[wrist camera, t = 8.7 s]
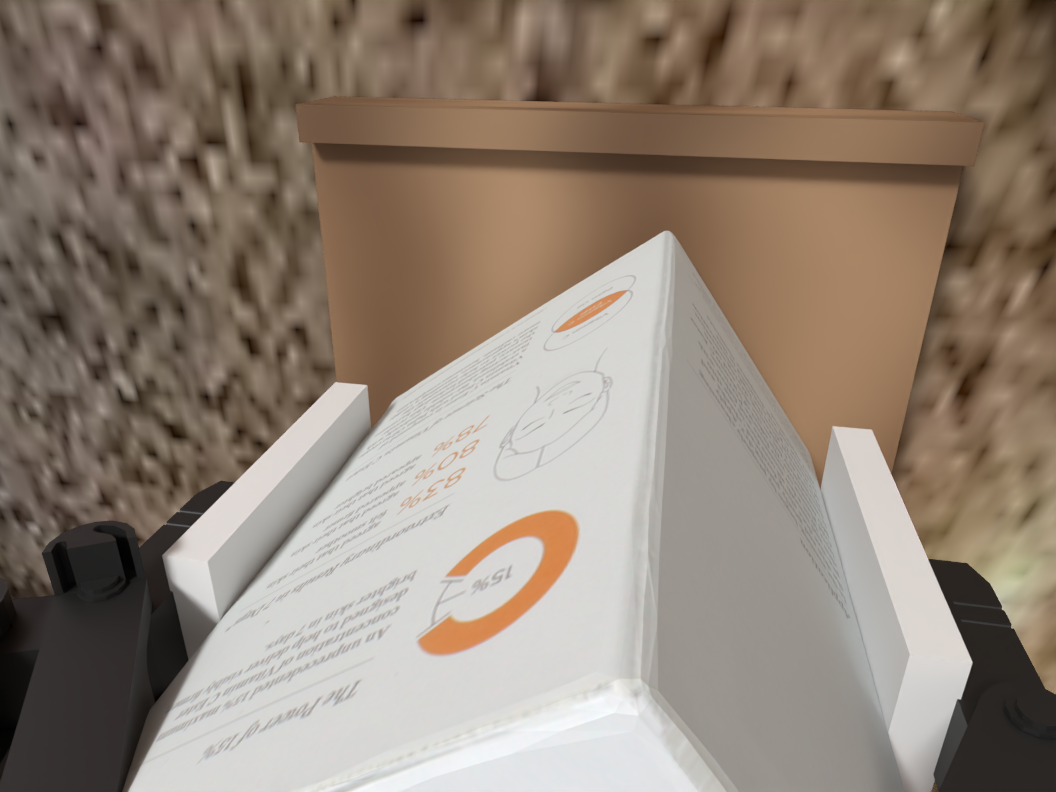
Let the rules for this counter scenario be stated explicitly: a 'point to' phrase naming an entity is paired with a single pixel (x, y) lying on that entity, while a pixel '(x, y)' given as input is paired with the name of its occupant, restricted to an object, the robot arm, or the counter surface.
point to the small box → (550, 583)
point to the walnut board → (641, 232)
